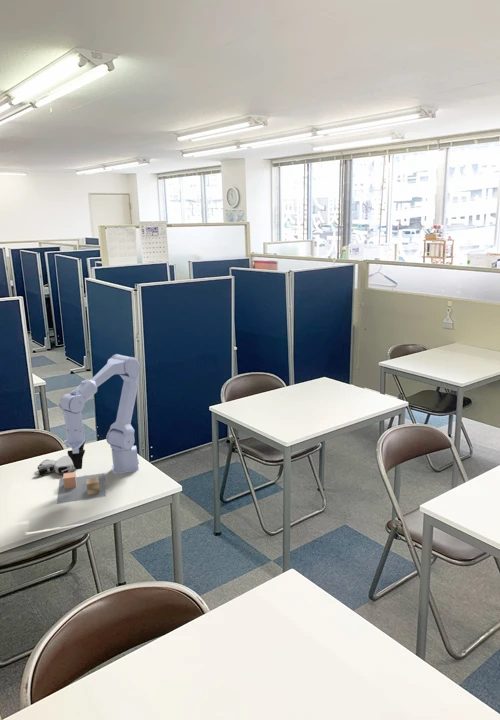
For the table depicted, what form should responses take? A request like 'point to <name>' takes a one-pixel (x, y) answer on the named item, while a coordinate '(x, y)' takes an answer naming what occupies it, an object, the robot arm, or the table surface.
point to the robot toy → (56, 466)
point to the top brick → (93, 486)
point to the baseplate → (80, 489)
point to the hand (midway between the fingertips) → (79, 464)
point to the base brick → (69, 480)
